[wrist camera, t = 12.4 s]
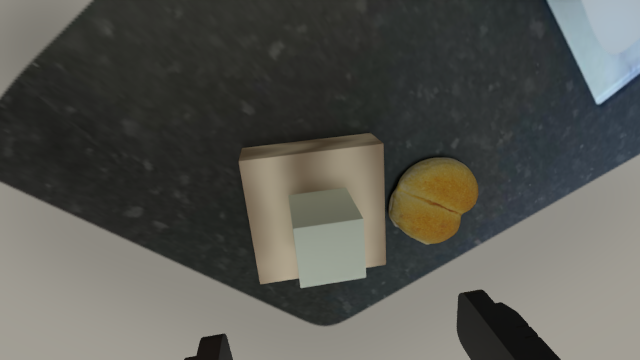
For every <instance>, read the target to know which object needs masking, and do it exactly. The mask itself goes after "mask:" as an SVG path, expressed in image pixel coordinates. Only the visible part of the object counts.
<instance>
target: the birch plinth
mask: <svg viewBox="0 0 640 360" xmlns="http://www.w3.org/2000/svg"><path fill="white" fill-rule="evenodd" d="M239 166H240V172H241V178H242V183H243V189H244V195H245V200H246V206H247V212H248V217H249V223H250V228H251V234H252V240H253V245H254V251H255V257H256V262H257V268H258V274H259V279H260V284H265V283H271V282H278V281H284V280H291V279H297V278H299V273H298V265H297V258H296V251H295V244H294V236H293V228H292V220H291V213H290V205H289V197H288V195H294V194H301V193H309V192H316V191H324V190H331V189H338V188H347V190H348V192H349V194H350V196H351V197H352V199H353V201H354V203H355V204H356V206H357V208H358V210H359V212H360V213H361V215H362V217H363V219H364V240H365V262H366V268H367V267H374V266H380V265H386V243H385V195H384V146H383V143H382V142H381V141H380V140H378V139H377V138H376V137H375V136H374V135H372V134H371V133H366V134H358V135H349V136H341V137H332V138H324V139H315V140H307V141H298V142H290V143H281V144H273V145H264V146H256V147H248V148H242V150H241V154H240V158H239Z"/></svg>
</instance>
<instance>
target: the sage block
mask: <svg viewBox="0 0 640 360" xmlns="http://www.w3.org/2000/svg"><path fill="white" fill-rule="evenodd" d="M288 197H289V205H290V213H291V220H292V228H293V236H294V244H295V251H296V258H297V265H298V273H299V280H300V287H301V288H304V287H310V286H317V285H323V284H329V283H335V282H341V281H348V280H354V279H360V278H366V262H365V240H364V219H363V217H362V215H361V213H360V212H359V210H358V208H357V206H356V204H355V203H354V201H353V199H352V197H351V196H350V194H349V192H348V190H347V188H338V189H331V190H324V191H316V192H309V193H301V194H294V195H288Z"/></svg>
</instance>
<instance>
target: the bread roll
mask: <svg viewBox="0 0 640 360" xmlns="http://www.w3.org/2000/svg"><path fill="white" fill-rule="evenodd" d="M477 197H478V184H477V182H476V179H475V177H474V176H473V174H472V173H471V171H470V170H469V169H468V167H467V166H466V165H464V164H463V163H461V162H459V161H457V160H455V159H452V158H444V157H443V158H430V159H426V160H423V161H420V162H418V163H416V164H415V165H413V166H412V167H410V168H409V169H408V170H407V171H406V172H405V173H404V174H403V175H402V177H401V178H400V180H399V182H398V185H397V187H396V189H395V190H394V192H393V193H392V195H391V198H390V202H389V217H390V219H391V220H392V222H393V224H394V225H395V226H396V227H399V228H400V229H401V230H402V231H403V232H405V233H406V234H407V235H409V236H410V237H411V238H415V239H416V240H418V241H420V242H422V243H424V244H427V245H428V244H433V243H440V242H442V241H445V240H447V239H448V238H450V237H452V236H453V235H454V234H455V233H456V232H457V230H458V228H459V225H460V220H461V215H462V214H463V213H465V212H467V211H468V210H470V209H471V208H472V207H473V206H474V205H475V203H476V200H477Z"/></svg>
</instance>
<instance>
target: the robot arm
mask: <svg viewBox="0 0 640 360" xmlns="http://www.w3.org/2000/svg"><path fill="white" fill-rule="evenodd" d="M457 333H458V337H459V340H460V342H461V344H462V346H463V348H464V350H465V351H466V353H467V354H468V356H469V357H470V359H471V360H561V359H560V358H559V357H558V356H557V355H556V354H555V353H554V352H553V351H552V350H551V349H550V347H549V346H548V345H547V344H546V343H545V342H544V341H543V340H542V339H541V338H540V337H538V335H537V333H536V332H535V331H534V330H533V329H532V328H531V327H529V326H528V323H527V322H526V321H525V320H524V319H523V318H522V317H521V316H520V315H519V314H518V313H517V312H516V311H515V310H513V309H511V308H510V307H508V306H507V305H505V304H503V303H501V302H500V303H494V302H493V300H492V299H491V298H490V297H489V296H488V295H487V293H485V291H483V290H475V291H470V292H464V293H460V294H459V296H458V311H457ZM184 360H233V358H232V354H231V351H230V347H229V343H228V339H227V336H226V334H219V335H213V336H208V337H203V338H201V340H200V343H199V347H198V351H197V356H193V357H188V358H185V359H184Z"/></svg>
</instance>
